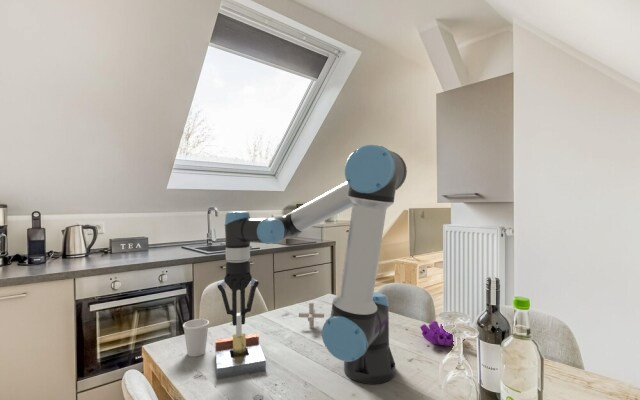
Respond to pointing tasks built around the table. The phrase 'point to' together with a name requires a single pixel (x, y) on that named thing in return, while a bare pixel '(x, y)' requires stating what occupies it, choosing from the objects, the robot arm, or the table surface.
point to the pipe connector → (311, 315)
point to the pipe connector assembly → (437, 334)
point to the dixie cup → (196, 336)
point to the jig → (242, 364)
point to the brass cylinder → (239, 345)
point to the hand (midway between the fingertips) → (238, 334)
